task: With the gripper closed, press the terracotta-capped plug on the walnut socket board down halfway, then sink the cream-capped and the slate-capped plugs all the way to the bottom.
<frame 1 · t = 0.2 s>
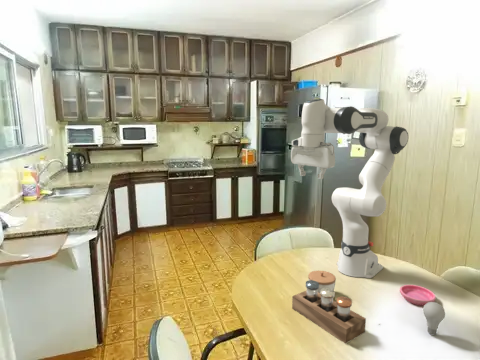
hand: (311, 177, 126), 48 cm above the table, fingers open, 8 cm apart
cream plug: (327, 299, 111), point 8 cm above the table, slide at 0.0 cm
slate plug: (312, 291, 117), point 8 cm above the table, slide at 0.0 cm
socket board: (326, 319, 112), on the table
lightbulb: (431, 334, 104), on the table
terracotta plug: (343, 308, 106), point 8 cm above the table, slide at 0.0 cm
saucer: (416, 299, 126), on the table
lidded jar: (321, 294, 130), on the table
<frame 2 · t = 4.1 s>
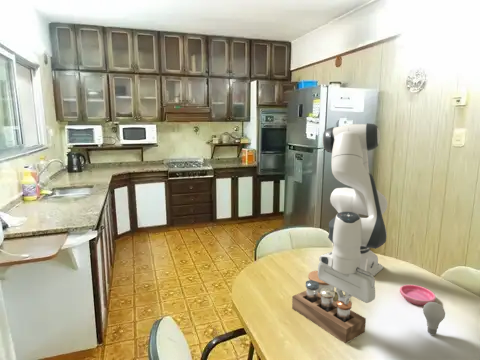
hand: (343, 302, 105), 10 cm above the table, fingers closed, pressing on terracotta plug
terracotta plug: (343, 311, 106), point 7 cm above the table, slide at 0.8 cm, touching gripper
everything else where it was.
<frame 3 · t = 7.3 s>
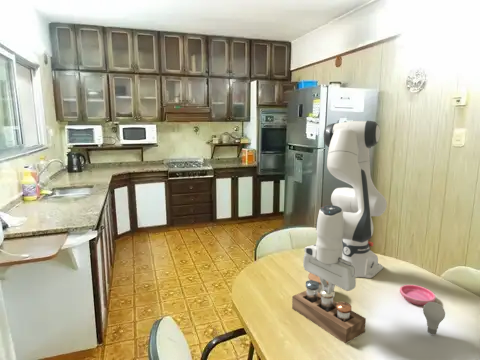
hand: (327, 291, 111), 11 cm above the table, fingers closed, pressing on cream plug
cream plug: (327, 299, 111), point 8 cm above the table, slide at 0.0 cm, touching gripper
terracotta plug: (343, 314, 106), point 6 cm above the table, slide at 1.9 cm
everything else where it was.
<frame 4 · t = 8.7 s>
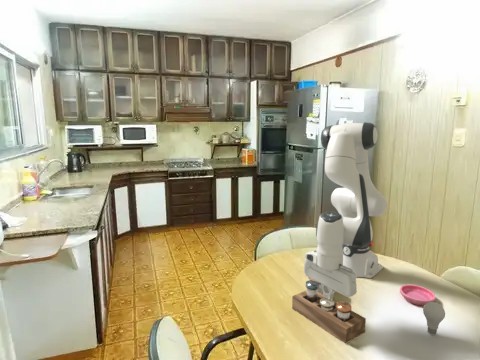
hand: (328, 297, 111), 8 cm above the table, fingers closed
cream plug: (326, 309, 112), point 4 cm above the table, slide at 3.7 cm
everything else where it was.
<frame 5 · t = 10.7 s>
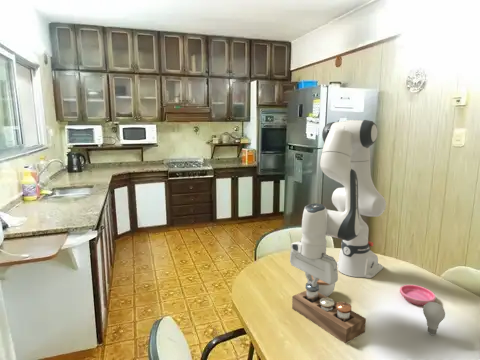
hand: (312, 285, 116), 10 cm above the table, fingers closed, pressing on slate plug
slate plug: (312, 293, 117), point 7 cm above the table, slide at 0.7 cm, touching gripper
everything else where it was.
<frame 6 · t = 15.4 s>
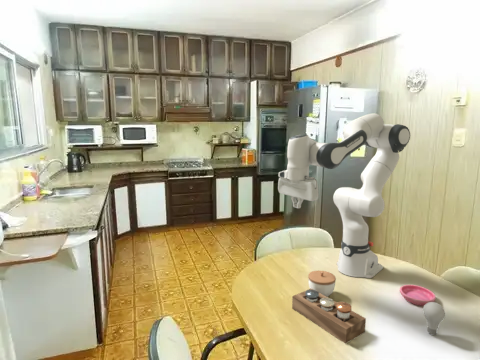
hand: (296, 207, 132), 34 cm above the table, fingers closed
slate plug: (311, 300, 118), point 4 cm above the table, slide at 3.7 cm
everything else where it was.
at the end: terracotta plug slide at 1.9 cm; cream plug slide at 3.7 cm; slate plug slide at 3.7 cm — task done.
